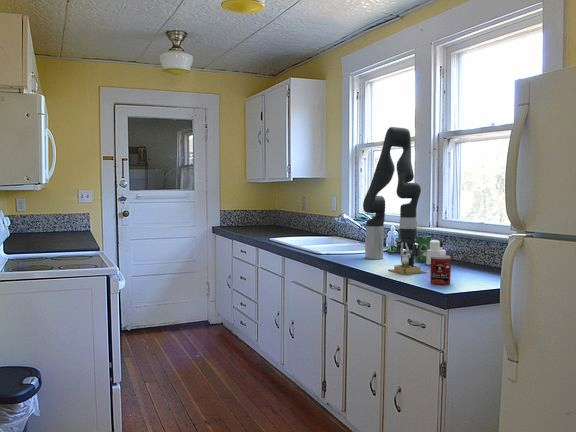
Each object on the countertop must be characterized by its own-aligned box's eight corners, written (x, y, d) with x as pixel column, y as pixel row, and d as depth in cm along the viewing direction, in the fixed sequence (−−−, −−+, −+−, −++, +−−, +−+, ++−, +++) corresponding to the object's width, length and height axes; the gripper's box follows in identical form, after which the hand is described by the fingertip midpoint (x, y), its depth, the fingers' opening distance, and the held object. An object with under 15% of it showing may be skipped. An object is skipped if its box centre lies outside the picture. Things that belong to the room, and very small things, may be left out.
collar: (388, 270, 240) (388, 265, 240) (409, 269, 245) (409, 263, 245) (404, 274, 229) (404, 269, 229) (426, 273, 234) (426, 267, 234)
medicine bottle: (432, 262, 265) (432, 239, 265) (445, 264, 261) (446, 240, 260) (425, 264, 260) (426, 240, 259) (439, 265, 255) (440, 241, 255)
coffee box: (426, 260, 273) (427, 235, 272) (430, 261, 270) (431, 235, 269) (414, 261, 269) (415, 236, 268) (418, 262, 266) (419, 236, 265)
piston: (399, 266, 238) (399, 254, 238) (408, 265, 240) (408, 253, 240) (406, 267, 234) (406, 255, 234) (415, 266, 236) (415, 254, 236)
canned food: (429, 284, 207) (429, 256, 207) (431, 281, 215) (431, 254, 214) (449, 286, 205) (450, 257, 204) (451, 282, 212) (451, 255, 212)
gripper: (391, 226, 241) (391, 263, 242) (411, 228, 228) (410, 267, 229) (405, 226, 244) (404, 262, 245) (425, 228, 231) (424, 266, 232)
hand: (407, 264), depth 237 cm, fingers closed on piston, 5 cm apart
